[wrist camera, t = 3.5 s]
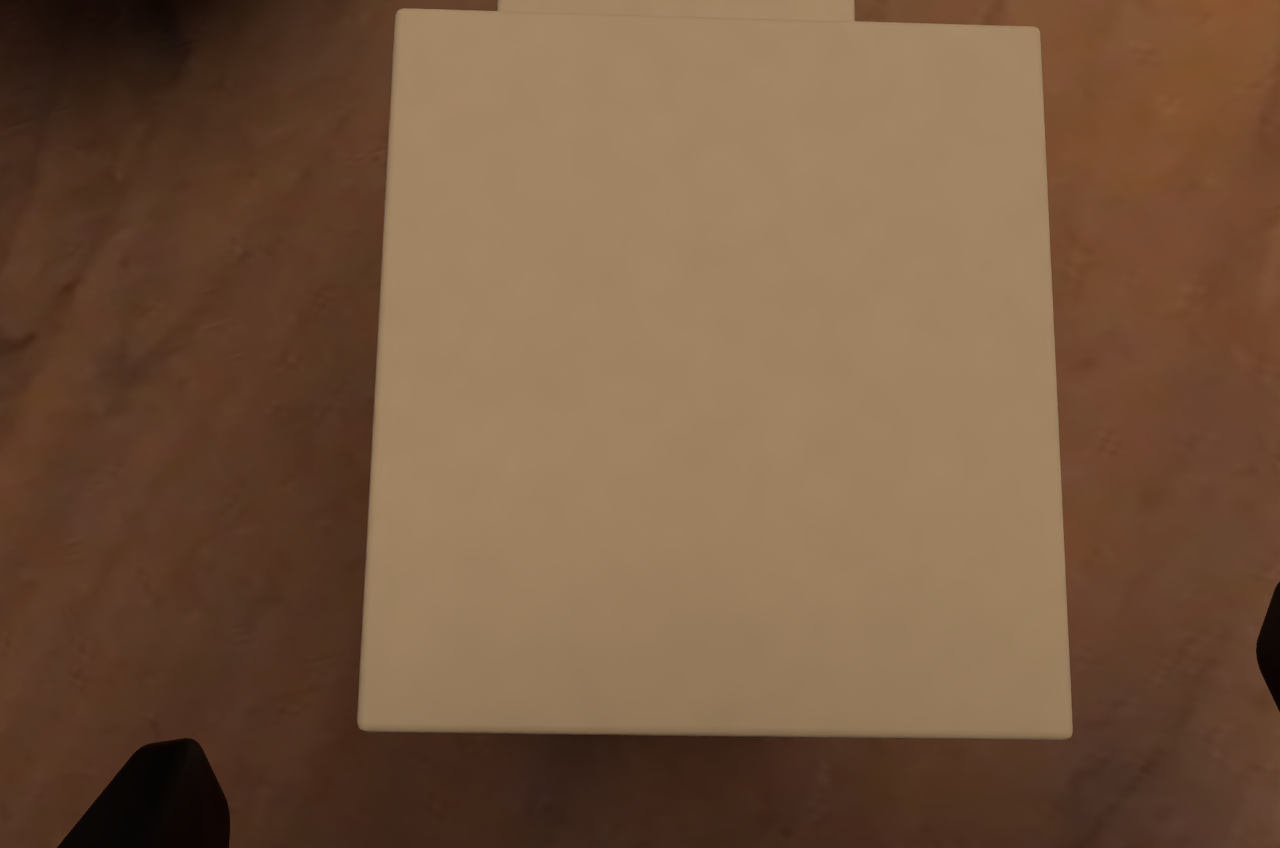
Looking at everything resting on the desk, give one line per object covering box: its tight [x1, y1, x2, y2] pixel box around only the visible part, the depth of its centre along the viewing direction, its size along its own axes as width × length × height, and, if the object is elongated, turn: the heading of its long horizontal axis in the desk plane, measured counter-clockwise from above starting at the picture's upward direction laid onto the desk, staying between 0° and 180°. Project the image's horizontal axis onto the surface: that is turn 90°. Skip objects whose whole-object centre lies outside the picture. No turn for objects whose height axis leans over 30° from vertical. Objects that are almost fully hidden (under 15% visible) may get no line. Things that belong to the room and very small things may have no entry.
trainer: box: [357, 0, 1073, 740], centre depth 14 cm, size 11×5×11 cm, turn 179°
